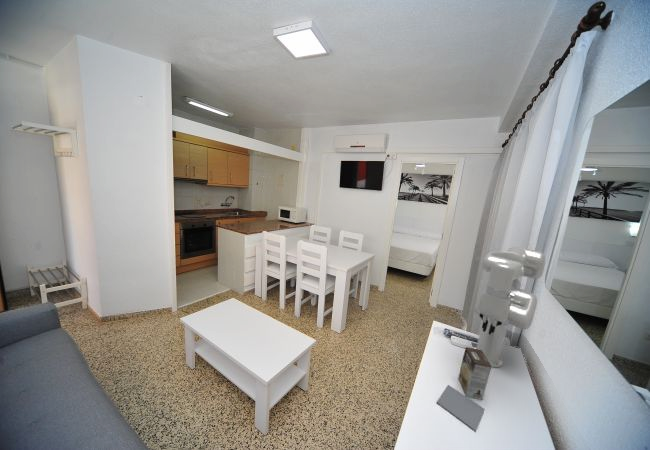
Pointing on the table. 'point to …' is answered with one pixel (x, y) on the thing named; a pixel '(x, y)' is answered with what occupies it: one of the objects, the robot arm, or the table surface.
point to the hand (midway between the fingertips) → (487, 331)
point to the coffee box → (474, 373)
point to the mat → (461, 407)
